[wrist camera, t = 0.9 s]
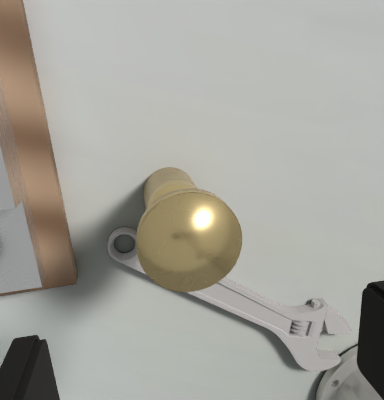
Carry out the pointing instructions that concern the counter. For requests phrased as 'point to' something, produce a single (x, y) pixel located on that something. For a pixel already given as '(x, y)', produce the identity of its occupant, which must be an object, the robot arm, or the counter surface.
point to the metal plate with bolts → (16, 217)
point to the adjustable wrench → (264, 312)
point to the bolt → (185, 233)
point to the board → (34, 146)
